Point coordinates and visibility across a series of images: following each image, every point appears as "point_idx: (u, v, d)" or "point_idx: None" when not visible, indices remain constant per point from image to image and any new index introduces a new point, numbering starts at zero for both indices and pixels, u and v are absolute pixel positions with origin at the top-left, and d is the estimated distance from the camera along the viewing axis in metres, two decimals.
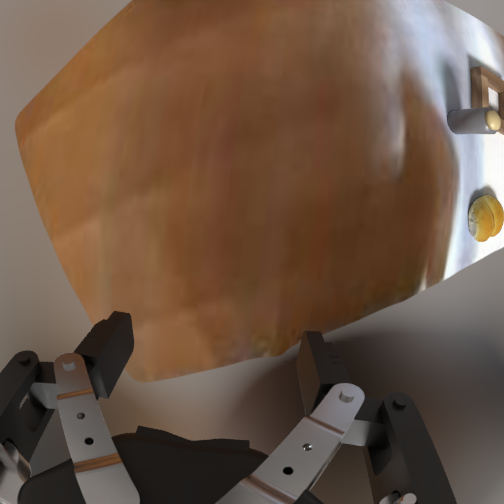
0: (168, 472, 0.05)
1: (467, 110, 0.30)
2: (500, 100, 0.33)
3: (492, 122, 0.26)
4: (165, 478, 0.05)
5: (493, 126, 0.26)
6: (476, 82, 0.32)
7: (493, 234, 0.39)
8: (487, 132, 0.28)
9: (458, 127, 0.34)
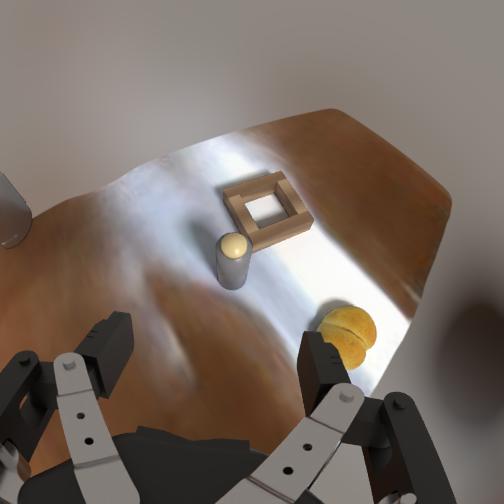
0: (168, 472, 0.05)
1: None
2: (279, 198, 0.47)
3: (231, 250, 0.31)
4: (165, 479, 0.05)
5: (235, 253, 0.31)
6: (231, 211, 0.44)
7: (369, 344, 0.36)
8: (239, 265, 0.32)
9: (227, 283, 0.38)
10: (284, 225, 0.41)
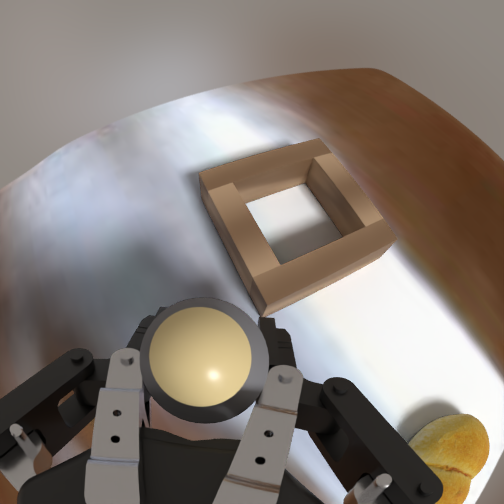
0: (168, 472, 0.05)
1: None
2: (316, 194, 0.22)
3: (188, 383, 0.07)
4: (165, 478, 0.05)
5: (203, 396, 0.07)
6: (216, 219, 0.19)
7: (476, 474, 0.11)
8: None
9: None
10: (339, 253, 0.17)
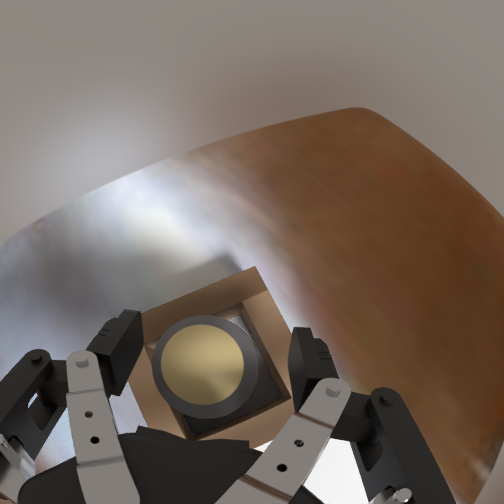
0: (168, 472, 0.05)
1: None
2: (250, 332, 0.19)
3: (193, 385, 0.09)
4: (165, 478, 0.05)
5: (205, 396, 0.09)
6: None
7: None
8: None
9: None
10: (253, 432, 0.14)
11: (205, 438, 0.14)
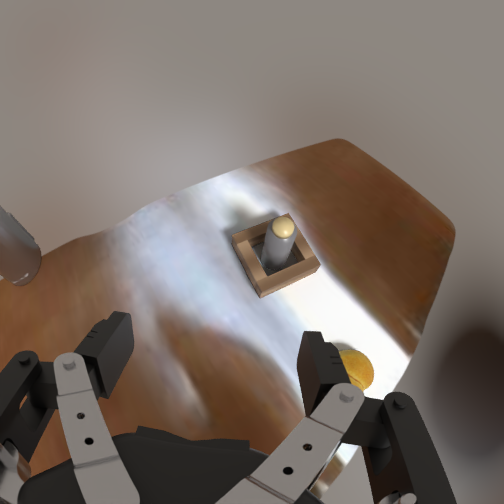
0: (168, 472, 0.05)
1: None
2: None
3: (282, 230, 0.37)
4: (165, 478, 0.05)
5: (285, 233, 0.37)
6: (240, 256, 0.45)
7: (366, 385, 0.36)
8: (287, 243, 0.38)
9: (272, 263, 0.44)
10: (291, 271, 0.43)
11: (273, 274, 0.42)
